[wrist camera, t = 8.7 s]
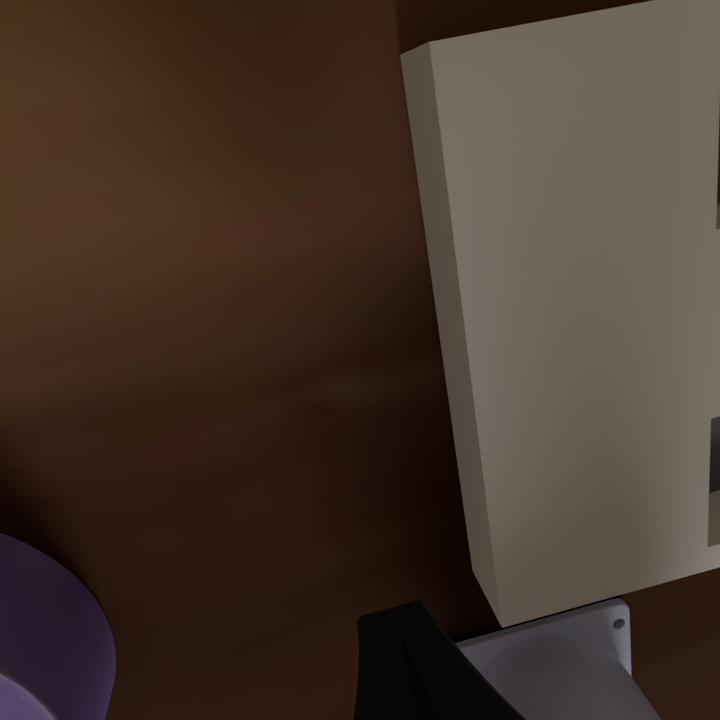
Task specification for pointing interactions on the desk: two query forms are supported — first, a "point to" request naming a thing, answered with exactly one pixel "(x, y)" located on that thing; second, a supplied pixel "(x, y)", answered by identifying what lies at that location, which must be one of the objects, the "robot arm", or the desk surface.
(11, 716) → the tape roll
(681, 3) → the box
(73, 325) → the desk surface
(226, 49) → the desk surface
